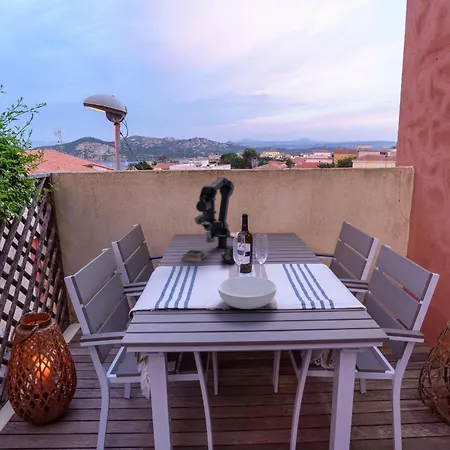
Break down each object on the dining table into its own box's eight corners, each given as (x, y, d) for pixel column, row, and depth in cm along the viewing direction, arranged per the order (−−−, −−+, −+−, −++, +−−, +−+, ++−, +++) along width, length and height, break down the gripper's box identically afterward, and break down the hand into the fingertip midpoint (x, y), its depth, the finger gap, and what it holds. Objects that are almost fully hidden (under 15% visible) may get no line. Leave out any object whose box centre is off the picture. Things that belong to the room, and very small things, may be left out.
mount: (188, 255, 187) (188, 248, 187) (206, 256, 185) (205, 249, 184) (181, 260, 178) (181, 253, 177) (199, 261, 175) (199, 254, 175)
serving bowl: (241, 288, 138) (241, 272, 137) (287, 301, 125) (287, 283, 124) (206, 305, 122) (205, 287, 121) (254, 322, 109) (254, 302, 108)
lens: (207, 240, 191) (206, 227, 189) (216, 240, 189) (215, 227, 188) (204, 242, 186) (203, 229, 184) (213, 242, 184) (213, 229, 183)
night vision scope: (231, 260, 186) (245, 249, 183) (226, 271, 168) (241, 259, 166) (221, 249, 185) (235, 238, 183) (215, 259, 168) (231, 247, 165)
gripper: (188, 208, 188) (189, 236, 191) (203, 212, 172) (204, 242, 175) (206, 207, 194) (207, 234, 197) (223, 211, 178) (223, 240, 181)
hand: (210, 237), depth 187 cm, fingers closed on lens, 5 cm apart
